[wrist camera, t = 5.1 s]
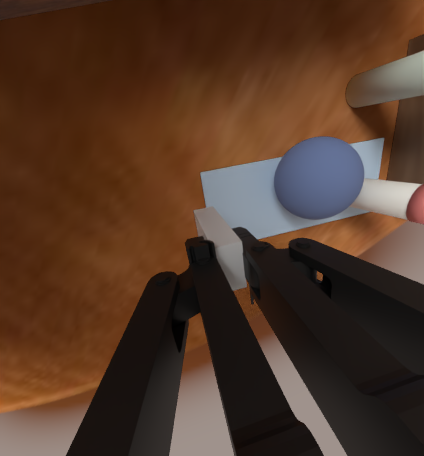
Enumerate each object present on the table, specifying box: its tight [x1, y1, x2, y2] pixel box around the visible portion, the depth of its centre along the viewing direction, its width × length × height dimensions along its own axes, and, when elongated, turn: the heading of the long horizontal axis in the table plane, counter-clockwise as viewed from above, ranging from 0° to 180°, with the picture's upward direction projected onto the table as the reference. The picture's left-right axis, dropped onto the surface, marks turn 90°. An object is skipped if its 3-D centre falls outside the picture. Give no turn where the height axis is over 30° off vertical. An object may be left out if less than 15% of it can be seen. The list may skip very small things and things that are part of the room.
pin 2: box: [349, 178, 424, 224], centre depth 16 cm, size 2×2×9 cm
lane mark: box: [200, 138, 384, 239], centre depth 20 cm, size 17×7×1 cm, turn 99°
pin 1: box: [346, 51, 424, 108], centre depth 13 cm, size 2×2×9 cm
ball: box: [274, 137, 364, 220], centre depth 16 cm, size 6×6×6 cm
